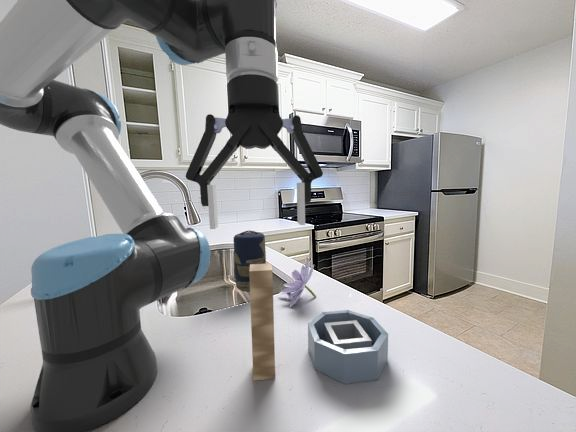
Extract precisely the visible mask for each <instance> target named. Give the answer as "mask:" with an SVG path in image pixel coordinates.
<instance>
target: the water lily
mask: <svg viewBox="0 0 576 432" xmlns="http://www.w3.org/2000/svg"><path fill="white" fill-rule="evenodd" d="M314 267H315V264H313V265H312V266H311V268H310V258H309V257H308V258H307V259H306V262H305V265H302V267H301V268H300V272H299V270H296V269H294V270H293V271H292V273H291V278H292V280H293V282H286V283H283V286H284V287H285V288H283V289H282V290H281V291H280V292H279V294H278V295H283V294H285V295H286V294H290V293H291V294H290V295H289V296H288V297H287V298H286V301H288V300H291V301H290V304H289V309H291V308H292V307H293V306H294V305H295V304H296V302H297V301H298V300H299V299H300V297H301V295H302V293H303V291H304V290H305V289H306V290H307V291H308V292H309V293H310V294H311V295H312V296H313V298H314V297H315V298H316V297H317V295H316V294H315V293H314V292H313V291H312V289H310V288H309V287H308V286H307V284H308V282H309V281H310V279H311V276H312V275H313V272H314Z"/></svg>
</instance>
